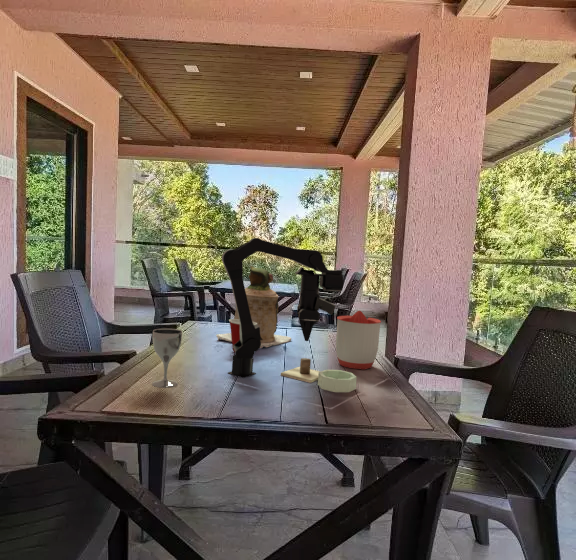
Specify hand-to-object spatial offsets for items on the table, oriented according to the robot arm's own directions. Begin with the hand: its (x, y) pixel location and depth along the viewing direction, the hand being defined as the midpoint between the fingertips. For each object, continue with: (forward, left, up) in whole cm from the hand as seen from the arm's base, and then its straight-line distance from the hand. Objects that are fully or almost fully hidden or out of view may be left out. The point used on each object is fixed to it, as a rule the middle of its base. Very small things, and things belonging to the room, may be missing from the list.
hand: (305, 338), depth 148 cm
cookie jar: (+31, +44, -12) cm, 55 cm away
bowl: (-4, -14, -12) cm, 19 cm away
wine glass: (-37, +23, -12) cm, 45 cm away
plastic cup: (+10, +34, -12) cm, 37 cm away
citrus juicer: (+26, -6, -12) cm, 29 cm away
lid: (-1, -1, -12) cm, 12 cm away
